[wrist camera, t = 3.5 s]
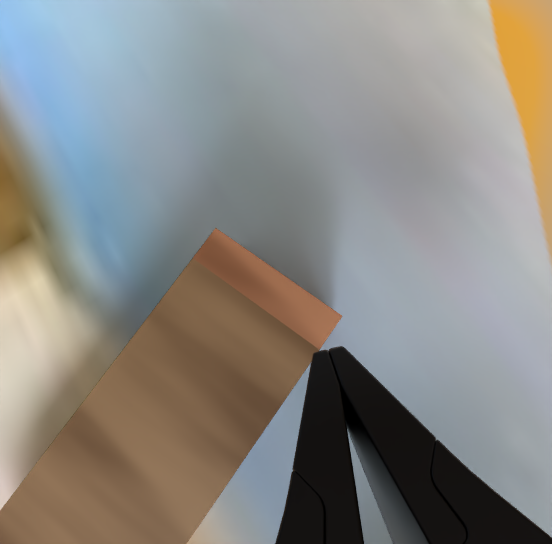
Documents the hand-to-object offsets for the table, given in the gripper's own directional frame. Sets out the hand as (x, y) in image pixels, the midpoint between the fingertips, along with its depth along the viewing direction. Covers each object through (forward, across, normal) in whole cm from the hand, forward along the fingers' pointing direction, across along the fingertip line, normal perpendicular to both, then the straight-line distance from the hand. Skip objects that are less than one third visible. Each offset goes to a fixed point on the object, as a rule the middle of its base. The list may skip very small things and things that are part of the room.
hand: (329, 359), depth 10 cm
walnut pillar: (+6, +1, +1) cm, 6 cm away
